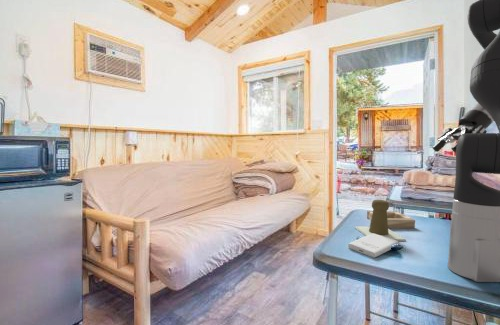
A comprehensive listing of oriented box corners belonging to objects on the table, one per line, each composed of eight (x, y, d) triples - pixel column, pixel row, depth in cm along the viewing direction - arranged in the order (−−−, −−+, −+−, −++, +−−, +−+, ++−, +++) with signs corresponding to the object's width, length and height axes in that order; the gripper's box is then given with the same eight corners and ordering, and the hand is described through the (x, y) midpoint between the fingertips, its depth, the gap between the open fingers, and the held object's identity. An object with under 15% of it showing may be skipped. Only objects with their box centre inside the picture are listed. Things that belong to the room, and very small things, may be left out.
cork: (392, 235, 86) (394, 202, 85) (373, 235, 86) (375, 201, 85) (383, 229, 92) (385, 198, 91) (365, 228, 92) (367, 197, 91)
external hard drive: (398, 246, 77) (374, 258, 70) (371, 237, 83) (347, 247, 76) (398, 241, 77) (375, 252, 70) (372, 232, 83) (348, 242, 76)
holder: (414, 228, 96) (415, 219, 96) (382, 227, 96) (382, 219, 96) (395, 218, 108) (396, 211, 108) (366, 218, 108) (367, 210, 108)
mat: (405, 241, 83) (405, 239, 83) (371, 240, 83) (371, 238, 83) (385, 228, 95) (385, 226, 95) (355, 228, 95) (355, 226, 94)
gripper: (455, 111, 95) (422, 142, 96) (493, 106, 81) (453, 142, 82) (468, 126, 96) (435, 157, 96) (508, 123, 82) (468, 159, 82)
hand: (443, 150), depth 89 cm, fingers open, 8 cm apart
